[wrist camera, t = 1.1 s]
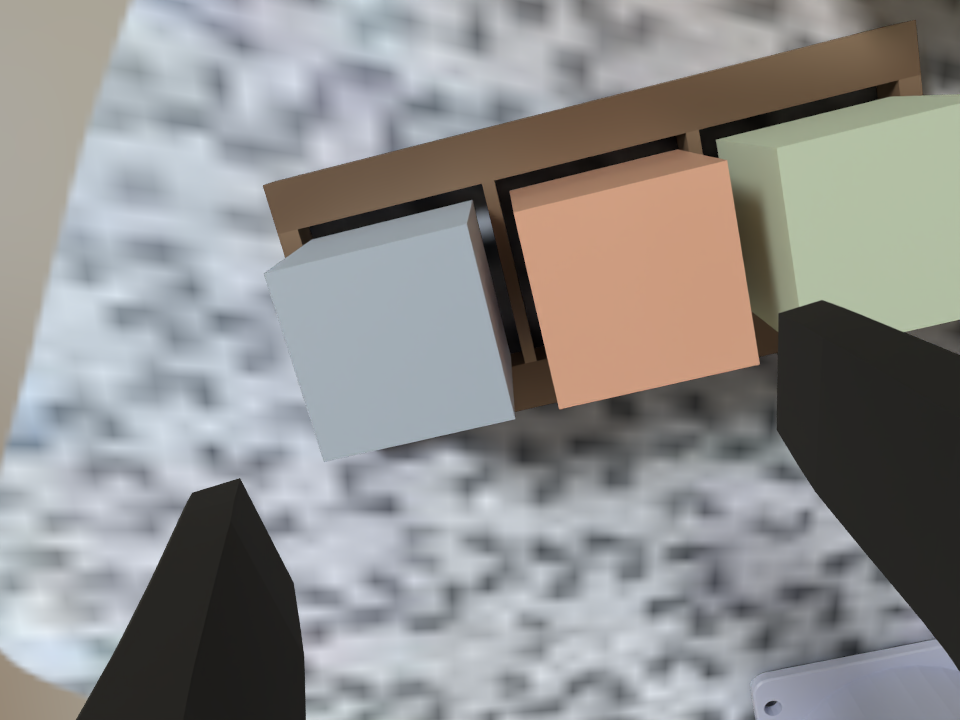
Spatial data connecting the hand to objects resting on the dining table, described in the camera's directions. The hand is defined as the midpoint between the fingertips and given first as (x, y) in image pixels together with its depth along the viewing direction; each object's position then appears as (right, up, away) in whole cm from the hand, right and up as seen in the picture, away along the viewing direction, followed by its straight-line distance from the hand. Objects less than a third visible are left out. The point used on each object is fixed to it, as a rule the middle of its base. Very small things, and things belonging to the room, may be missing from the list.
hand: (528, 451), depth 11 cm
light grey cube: (-2, +3, +10) cm, 10 cm away
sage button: (+7, +5, +9) cm, 12 cm away
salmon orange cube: (+3, +4, +9) cm, 10 cm away
